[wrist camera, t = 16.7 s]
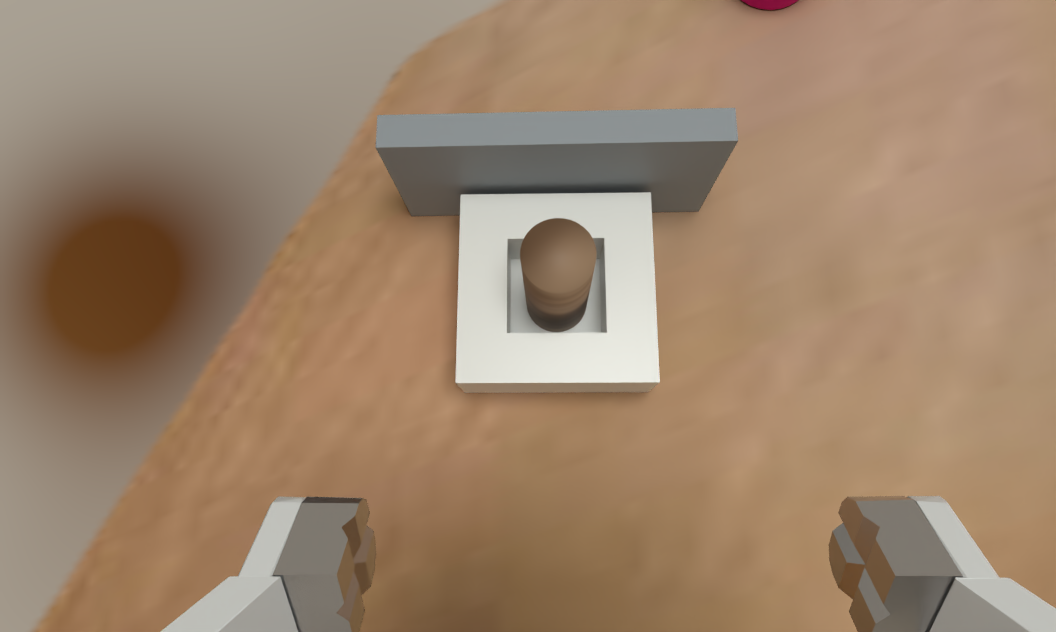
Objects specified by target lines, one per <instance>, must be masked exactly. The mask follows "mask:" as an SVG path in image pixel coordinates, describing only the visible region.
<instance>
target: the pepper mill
mask: <svg viewBox="0 0 1056 632" xmlns="http://www.w3.org/2000/svg"><path fill="white" fill-rule="evenodd" d="M741 1H743V2H745V3H746V4H748V5H750V6H752V7H755V8H759V9H766V10H775V9H781V8H784V7H787V6H790V5H792V4H793V3H795V2H797V1H798V0H741Z"/></svg>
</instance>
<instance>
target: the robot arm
mask: <svg viewBox="0 0 1056 632" xmlns="http://www.w3.org/2000/svg"><path fill="white" fill-rule="evenodd" d="M838 513H839V515H840V517H841V519H842V521H843V523H842V524H841V525H840V526H838V527H837V528H836V529H834V530H833V531H832V535H831V539H830V542H829V561H830V565H831V569H832V573H833V576H834V578H835V581H836V583H837V585H838V588H840V589H841V590H842V591H843V592H844V593H846V594H847V595H848V596H849V597H851V598H852V599H853V601H852V604H851V607H850V610H849V613H850V615H851V618H852V620H853V622H854V624H855V626H856V629H857V631H858V632H1056V608H1054V607H1052V606H1051V605H1049V604H1048V603H1046V602H1045V601H1043V600H1042V599H1040V598H1039V597H1037V596H1036V595H1034V594H1033V593H1031V592H1030V591H1028V590H1027V589H1025V588H1024V587H1022V586H1021V585H1019V584H1018V583H1016V582H1015V581H1013V580H1011V579H1010V578H999V576H998V575H997V573H996V572H995V570H994V569H993V567H992V566H991V565H990V563H989V562H988V560H987V559H986V557H985V556H984V555H983V553H982V552H981V550H980V549H979V547H978V546H977V544H976V543H975V542H974V540H973V539H972V537H971V536H970V534H969V533H968V531H967V530H966V529H965V527H964V526H963V524H962V523H961V521H960V520H959V518H958V517H957V516H956V514H955V513H954V511H953V510H952V508H951V507H950V506H949V504H948V503H947V501H946V500H944V499H943V498H941V497H940V496H908V497H905V496H876V497H847V498H846V499H845V500H844V501H843V502H842V503H841V506H840V509H839V512H838ZM369 514H370V511H369V507H368V503H367V500H366V499H364V498H336V497H277V498H276V499H275V501H274V502H273V503H272V504H271V505H270V507H269V510H268V512H267V514H266V516H265V518H264V521H263V523H262V525H261V527H260V529H259V531H258V534H257V536H256V538H255V540H254V542H253V545H252V547H251V549H250V551H249V553H248V555H247V558H246V560H245V562H244V564H243V566H242V569H241V571H240V573H239V575H238V576H229V577H228V578H227V579H225V580H224V581H223V582H222V583H221V584H219V585H218V586H217V587H216V588H214V589H213V590H212V591H211V592H209V593H208V594H207V595H206V596H204V597H203V598H202V599H201V600H199V601H198V602H197V603H196V604H194V605H193V606H192V607H191V608H189V609H188V610H187V611H186V612H184V613H183V614H182V615H181V616H179V617H178V618H177V619H176V620H174V621H173V622H172V623H171V624H169V625H168V626H167V627H166V628H164V629H163V630H162V631H161V632H359V631H360V627H361V623H362V619H363V615H364V612H365V609H364V604H363V600H362V595H363V594H364V593H365V592H366V591H367V590H368V589H369V588H370V587H371V584H372V579H373V575H374V570H375V560H376V542H375V536H374V531H373V530H372V529H371V528H369V527H368V526H367V522H368V518H369Z"/></svg>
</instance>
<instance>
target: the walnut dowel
mask: <svg viewBox="0 0 1056 632" xmlns="http://www.w3.org/2000/svg"><path fill="white" fill-rule="evenodd" d="M596 257H597V252H596V246H595V242H594V240H593V238H592V236H591V235H590V233H589V232H588V231H587V230H586V229H585V228H584V227H583V226H581V225H580V224H578V223H577V222H575V221H572V220H569V219H564V218H553V219H548V220H545V221H542V222H540V223H538V224H537V225H535V226H534V227H533V228H531V229H530V230H529V232H528V233H527V234H526V236H525V237H524V239H523V241H522V244H521V249H520V261H521V268H522V275H523V282H524V290H525V297H526V304H527V310H528V313H529V316H530V317H531V319H532V320H533V322H534V323H535V324H536V325H538V326H539V327H540V328H542V329H544V330H547V331H550V332H563V331H567V330H569V329H571V328H573V327H574V326H576V325H577V324H578V323H579V322H580V321H581V319H582V318H583V316H584V314H585V311H586V306H587V302H588V297H589V292H590V287H591V283H592V278H593V273H594V268H595V263H596Z"/></svg>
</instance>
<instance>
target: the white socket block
mask: <svg viewBox="0 0 1056 632" xmlns="http://www.w3.org/2000/svg"><path fill="white" fill-rule="evenodd" d="M553 218H564V219H569V220H572V221H575V222H577V223H578V224H580V225H581V226H583V227H584V228H585V229H586V230H587V231H588V232H589V233H590V235H591V236H592V238H593V240H594V242H595V246H596V252H597V257H596V263H595V268H594V273H593V278H592V283H591V287H590V292H589V297H588V302H587V306H586V311H585V314H584V316H583V318H582V319H581V321H580V322H579V323H578V324H577V325H576V326H574V327H573V328H571V329H569V330H567V331H563V332H550V331H547V330H544V329H542V328H540V327H539V326H538V325H536V324H535V323H534V322H533V320H532V319H531V317H530V316H529V313H528V310H527V304H526V297H525V290H524V282H523V275H522V268H521V261H520V249H521V244H522V241H523V239H524V237H525V236H526V234H527V233H528V232H529V230H530V229H531V228H533V227H534V226H535V225H537V224H538V223H540V222H542V221H545V220H548V219H553ZM658 383H660V378H659V356H658V335H657V313H656V292H655V270H654V249H653V227H652V206H651V192H642V193H552V194H462V195H461V197H460V235H459V272H458V310H457V348H456V384H457V385H458V386H459V387H460V388H461V389H462V390H463V391H464V392H465V393H553V392H649V391H650V390H651V389H653V388H654V387H655V386H656V385H657V384H658Z"/></svg>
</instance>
